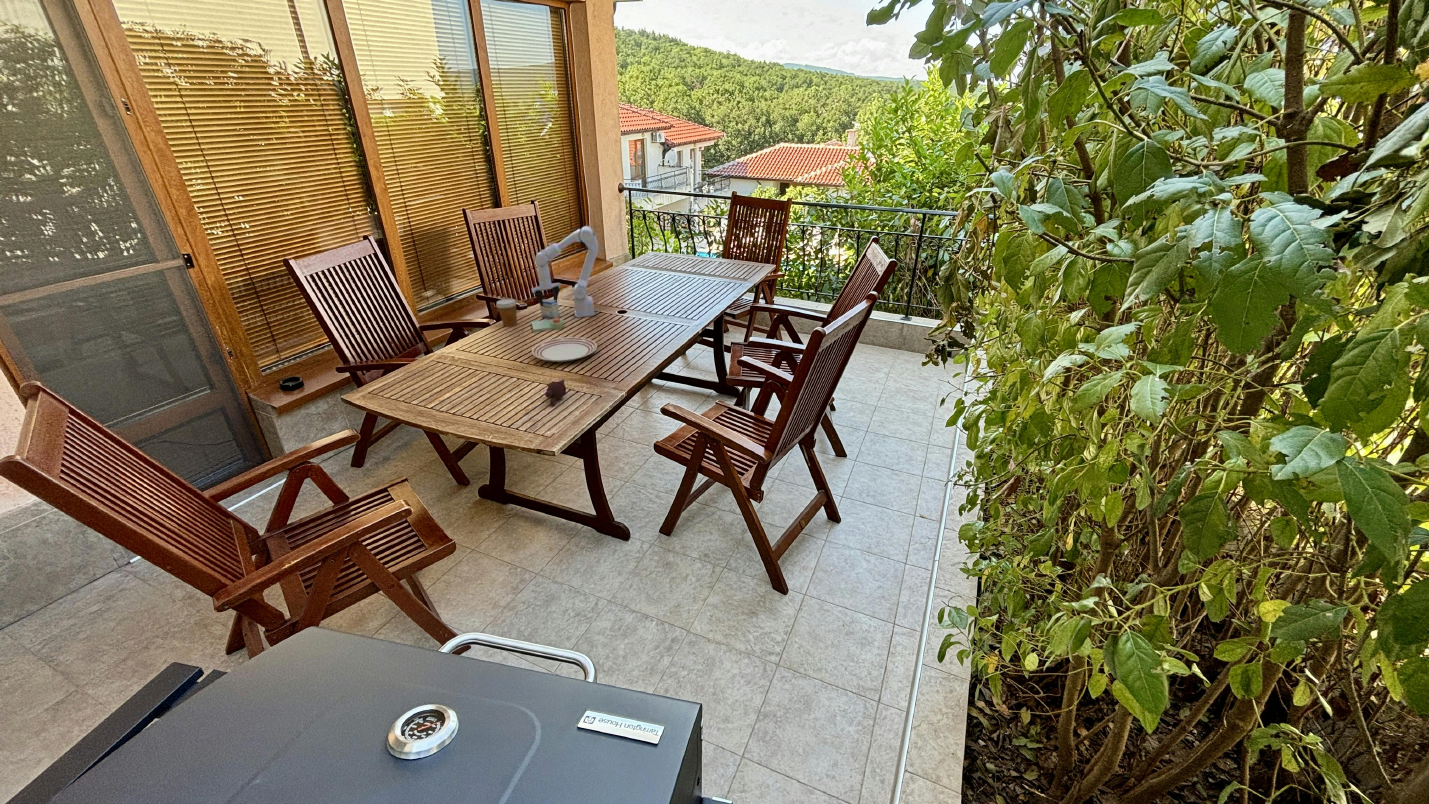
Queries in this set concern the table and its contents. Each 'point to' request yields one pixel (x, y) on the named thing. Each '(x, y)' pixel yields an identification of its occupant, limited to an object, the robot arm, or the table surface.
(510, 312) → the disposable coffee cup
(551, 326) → the scale
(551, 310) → the medicine box
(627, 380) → the table surface
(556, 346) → the dinner plate
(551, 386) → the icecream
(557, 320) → the power button
